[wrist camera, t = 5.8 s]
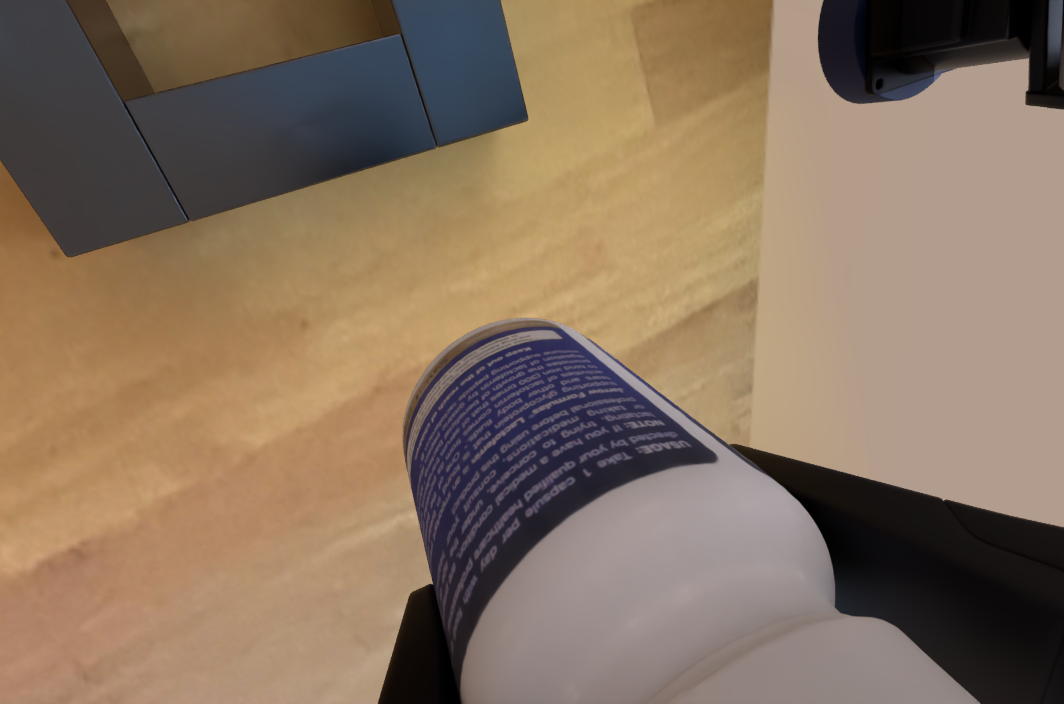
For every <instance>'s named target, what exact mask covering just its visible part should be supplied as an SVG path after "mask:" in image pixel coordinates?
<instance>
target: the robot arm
mask: <svg viewBox="0 0 1064 704" xmlns="http://www.w3.org/2000/svg"><path fill="white" fill-rule="evenodd" d="M1026 58H1029V86H1028V87H1029V88H1028V91H1026V102H1025V103H1026V105H1030V106H1040V107H1047V108H1055V109H1064V0H867V29H866V61H865V92H866V94H867V95H869V96H872V95H880V94H883V93H886V92H888V91H891V90H894V89H897V88H900V87H903V86H906V85H909V84H912V83H915V82H918V81H921V80H924V79H927V78H930V77H933V76H936V75H938V74H941V73H944V72H947V71H950V70H953V69H956V68H961V67H968V66H975V65H983V64H990V63H998V62H1005V61H1012V60H1019V59H1026ZM875 85H876V86H875ZM730 446H731V447H733V448H734V449H735V450H736V451H738V452H739V453H740V454H741V455H743V456H744V457H745V458H747V459H748V460H750V461H751V462H753V463H754V464H756V465H757V466H758V467H759V468H760V469H762V470H763V471H764V472H765V473H767V474H768V475H769V476H770V477H771V478H772V479H774V480H775V481H776V482H777V483H778V484H780V485H781V486H782V487H784V488H785V489H786V490H787V491H788V492H789V493H790V494H791V495H792V496H793V497H794V498H795V499H797V500H798V501H799V502H800V503H801V505H802V506H803V507H804V508H805V510H806V511H807V512H808V513H809V515H810V516H811V518H812V519H813V520H814V522H815V524H816V525H817V527H818V529H819V530H820V532H821V534H822V536H823V538H824V541H825V543H826V545H827V548H828V551H829V554H830V558H831V562H832V566H833V573H834V580H835V608H836V609H837V610H838V611H839V612H840V613H841V614H846V615H850V616H853V617H872V618H877V619H881V620H884V621H886V622H888V623H890V624H892V625H894V626H895V627H897V628H898V629H899V630H901V631H902V632H903V633H904V634H905V635H906V636H907V637H908V638H909V639H910V640H912V641H913V642H914V643H915V644H916V645H917V646H918V647H919V648H920V649H921V650H922V651H923V652H924V653H925V654H926V655H927V656H928V657H930V658H931V659H932V660H933V661H934V662H935V663H936V664H937V665H938V666H940V667H941V668H942V669H943V670H944V671H945V672H946V673H947V674H948V675H950V676H951V677H952V678H953V679H954V680H955V681H956V682H957V683H958V684H960V685H961V686H962V687H963V688H964V689H965V690H966V691H967V692H968V693H970V694H971V695H972V696H973V697H974V698H975V699H976V700H977V701H978V702H979V703H981V704H1064V527H1059V526H1055V525H1050V524H1046V523H1041V522H1036V521H1032V520H1027V519H1023V518H1018V517H1014V516H1009V515H1005V514H1001V513H997V512H993V511H989V510H985V509H981V508H977V507H973V506H969V505H965V504H961V503H958V502H954V501H950V500H944V501H943V500H942V499H941V498H939V497H935V496H931V495H927V494H923V493H920V492H915V491H912V490H908V489H904V488H901V487H897V486H893V485H889V484H886V483H882V482H878V481H874V480H870V479H867V478H862V477H859V476H855V475H851V474H848V473H844V472H840V471H836V470H832V469H829V468H824V467H821V466H817V465H814V464H810V463H806V462H802V461H798V460H795V459H791V458H786V457H783V456H779V455H775V454H771V453H768V452H764V451H760V450H756V449H753V448H749V447H745V446H742V445H738V444H730ZM378 704H460V701H459V697H458V692H457V688H456V684H455V679H454V675H453V671H452V666H451V661H450V656H449V652H448V648H447V643H446V639H445V635H444V630H443V625H442V621H441V616H440V611H439V607H438V603H437V599H436V594H435V590H434V585H433V584H429V585H426V586H424V587H422V588H420V589H418V590H416V591H414V592H412V593H411V594H410V596H409V598H408V602H407V605H406V609H405V612H404V615H403V619H402V622H401V626H400V629H399V633H398V636H397V639H396V643H395V646H394V650H393V653H392V657H391V660H390V663H389V667H388V670H387V674H386V677H385V680H384V684H383V687H382V691H381V694H380V698H379V701H378Z"/></svg>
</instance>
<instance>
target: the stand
mask: <svg viewBox="0 0 1064 704" xmlns="http://www.w3.org/2000/svg"><path fill="white" fill-rule="evenodd" d="M372 3H373V6H374V9H375V12H376V15H377V18H378V21H379V24H380V27H381V30H382V33H383V36H384V37H382V38H378V39H374V40H370V41H366V42H362V43H357V44H353V45H349V46H345V47H341V48H337V49H333V50H329V51H325V52H321V53H317V54H313V55H308V56H304V57H300V58H296V59H292V60H288V61H284V62H280V63H276V64H272V65H268V66H264V67H259V68H255V69H251V70H247V71H243V72H239V73H235V74H231V75H227V76H223V77H219V78H215V79H210V80H206V81H202V82H198V83H194V84H190V85H186V86H182V87H178V88H174V89H170V90H165V91H161V92H157V93H154V91H153V89H152V87H151V85H150V83H149V81H148V79H147V77H146V76H145V74H144V72H143V70H142V68H141V66H140V64H139V62H138V60H137V59H136V57H135V55H134V53H133V51H132V49H131V47H130V45H129V43H128V41H127V40H126V38H125V36H124V34H123V32H122V30H121V28H120V26H119V24H118V22H117V21H116V19H115V17H114V15H113V13H112V11H111V9H110V7H109V5H108V3H107V2H106V0H0V160H1V162H2V163H3V165H4V166H5V168H6V169H7V170H8V172H9V173H10V175H11V176H12V178H13V179H14V181H15V182H16V184H17V185H18V187H19V188H20V189H21V191H22V192H23V194H24V195H25V197H26V198H27V200H28V201H29V203H30V204H31V206H32V207H33V208H34V210H35V211H36V213H37V214H38V216H39V217H40V219H41V220H42V222H43V223H44V225H45V226H46V227H47V229H48V230H49V232H50V233H51V235H52V236H53V238H54V239H55V241H56V242H57V244H58V245H59V246H60V248H61V249H62V251H63V252H64V254H65V255H66V256H67V257H74V256H77V255H81V254H84V253H87V252H91V251H94V250H97V249H101V248H104V247H107V246H111V245H114V244H117V243H121V242H124V241H128V240H131V239H134V238H138V237H141V236H144V235H148V234H151V233H154V232H158V231H161V230H164V229H168V228H171V227H174V226H178V225H181V224H185V223H188V222H190V221H195V220H198V219H201V218H205V217H208V216H211V215H215V214H218V213H221V212H225V211H228V210H232V209H235V208H238V207H242V206H245V205H248V204H252V203H255V202H258V201H262V200H265V199H268V198H272V197H275V196H278V195H282V194H285V193H288V192H292V191H295V190H299V189H302V188H305V187H309V186H312V185H315V184H319V183H322V182H325V181H329V180H332V179H335V178H339V177H342V176H345V175H349V174H352V173H356V172H359V171H362V170H366V169H369V168H372V167H376V166H379V165H382V164H386V163H389V162H392V161H396V160H399V159H402V158H406V157H409V156H412V155H416V154H419V153H423V152H426V151H429V150H433V149H435V148H436V147H443V146H446V145H449V144H453V143H456V142H459V141H463V140H466V139H469V138H473V137H476V136H479V135H483V134H486V133H489V132H493V131H496V130H500V129H503V128H506V127H510V126H513V125H516V124H520V123H523V122H526V121H528V114H527V110H526V106H525V102H524V97H523V93H522V89H521V85H520V80H519V76H518V72H517V68H516V64H515V59H514V55H513V51H512V47H511V43H510V38H509V34H508V30H507V26H506V21H505V17H504V13H503V9H502V5H501V0H372Z"/></svg>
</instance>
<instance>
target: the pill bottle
mask: <svg viewBox="0 0 1064 704" xmlns="http://www.w3.org/2000/svg"><path fill="white" fill-rule="evenodd" d="M403 449H404V456H405V462H406V467H407V471H408V475H409V480H410V484H411V489H412V493H413V497H414V502H415V506H416V511H417V515H418V520H419V524H420V529H421V533H422V538H423V542H424V546H425V551H426V555H427V560H428V564H429V569H430V573H431V577H432V581H433V585H434V590H435V594H436V599H437V603H438V607H439V611H440V616H441V621H442V625H443V630H444V635H445V639H446V643H447V648H448V652H449V656H450V661H451V666H452V671H453V675H454V679H455V684H456V688H457V692H458V697H459V701H460V704H981V703H979V702H978V701H977V700H976V699H975V698H974V697H973V696H972V695H971V694H970V693H968V692H967V691H966V690H965V689H964V688H963V687H962V686H961V685H960V684H958V683H957V682H956V681H955V680H954V679H953V678H952V677H951V676H950V675H948V674H947V673H946V672H945V671H944V670H943V669H942V668H941V667H940V666H938V665H937V664H936V663H935V662H934V661H933V660H932V659H931V658H930V657H928V656H927V655H926V654H925V653H924V652H923V651H922V650H921V649H920V648H919V647H918V646H917V645H916V644H915V643H914V642H913V641H912V640H910V639H909V638H908V637H907V636H906V635H905V634H904V633H903V632H902V631H901V630H899V629H898V628H897V627H895V626H894V625H892V624H890V623H888V622H886V621H884V620H881V619H877V618H872V617H853V616H850V615H846V614H841V613H840V612H839V611H838V610H837V609H836V608H835V580H834V573H833V566H832V562H831V558H830V554H829V551H828V548H827V545H826V543H825V541H824V538H823V536H822V534H821V532H820V530H819V529H818V527H817V525H816V524H815V522H814V520H813V519H812V518H811V516H810V515H809V513H808V512H807V511H806V510H805V508H804V507H803V506H802V505H801V503H800V502H799V501H798V500H797V499H795V498H794V497H793V496H792V495H791V494H790V493H789V492H788V491H787V490H786V489H785V488H784V487H782V486H781V485H780V484H778V483H777V482H776V481H775V480H774V479H772V478H771V477H770V476H769V475H768V474H767V473H765V472H764V471H763V470H762V469H760V468H759V467H758V466H757V465H756V464H754V463H753V462H751V461H750V460H748V459H747V458H745V457H744V456H743V455H741V454H740V453H739V452H738V451H736V450H735V449H734V448H733V447H731V446H730V445H728V444H727V443H726V442H724V441H723V440H721V439H720V438H719V437H717V436H716V435H715V434H713V433H712V432H711V431H709V430H708V429H707V428H706V427H704V426H703V425H702V424H700V423H699V422H698V421H697V420H695V419H694V418H692V417H691V416H690V415H688V414H687V413H686V412H684V411H683V410H682V409H680V408H679V407H678V406H676V405H675V404H674V403H672V402H671V401H670V400H668V399H667V398H666V397H665V396H663V395H662V394H661V393H659V392H658V391H657V390H655V389H654V388H653V387H652V386H650V385H649V384H648V383H646V382H645V381H644V380H643V379H641V378H640V377H639V376H637V375H636V374H635V373H633V372H632V371H631V370H629V369H628V368H627V367H626V366H624V365H623V364H622V363H620V362H619V361H618V360H617V359H615V358H614V357H613V356H612V355H610V354H609V353H608V352H606V351H605V350H604V349H602V348H601V347H600V346H598V345H597V344H596V343H594V342H593V341H592V340H590V339H589V338H587V337H586V336H584V335H582V334H581V333H579V332H578V331H576V330H574V329H572V328H570V327H568V326H566V325H563V324H560V323H557V322H553V321H549V320H545V319H537V318H515V319H507V320H502V321H498V322H494V323H491V324H487V325H485V326H482V327H479V328H477V329H475V330H473V331H471V332H469V333H467V334H465V335H464V336H462V337H461V338H459V339H457V340H456V341H455V342H453V343H452V344H450V345H449V346H448V347H447V348H446V349H444V350H443V351H442V352H441V353H440V354H439V355H438V356H437V357H436V358H435V359H434V360H433V361H432V362H431V364H430V365H429V366H428V367H427V369H426V370H425V371H424V373H423V374H422V376H421V377H420V379H419V380H418V382H417V384H416V386H415V388H414V390H413V392H412V394H411V397H410V399H409V402H408V404H407V408H406V412H405V417H404V422H403Z"/></svg>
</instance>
